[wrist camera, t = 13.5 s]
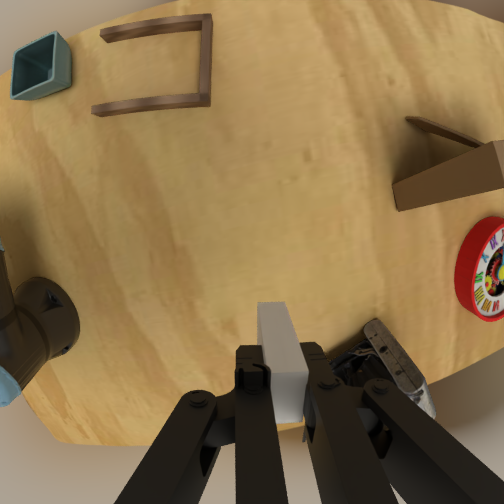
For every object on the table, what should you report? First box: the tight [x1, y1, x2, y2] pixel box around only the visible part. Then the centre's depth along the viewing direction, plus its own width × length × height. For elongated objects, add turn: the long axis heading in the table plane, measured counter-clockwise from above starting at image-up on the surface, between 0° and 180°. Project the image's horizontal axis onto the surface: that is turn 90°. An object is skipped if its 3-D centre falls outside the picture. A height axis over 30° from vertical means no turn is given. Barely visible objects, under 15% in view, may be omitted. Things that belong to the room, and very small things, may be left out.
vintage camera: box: [329, 320, 436, 419], centre depth 43 cm, size 10×16×20 cm, turn 123°
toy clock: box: [454, 217, 504, 322], centre depth 47 cm, size 20×6×20 cm
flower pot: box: [10, 31, 72, 100], centre depth 33 cm, size 9×9×9 cm
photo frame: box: [392, 117, 504, 212], centre depth 32 cm, size 15×22×25 cm
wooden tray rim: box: [91, 13, 213, 117], centre depth 37 cm, size 17×14×4 cm
